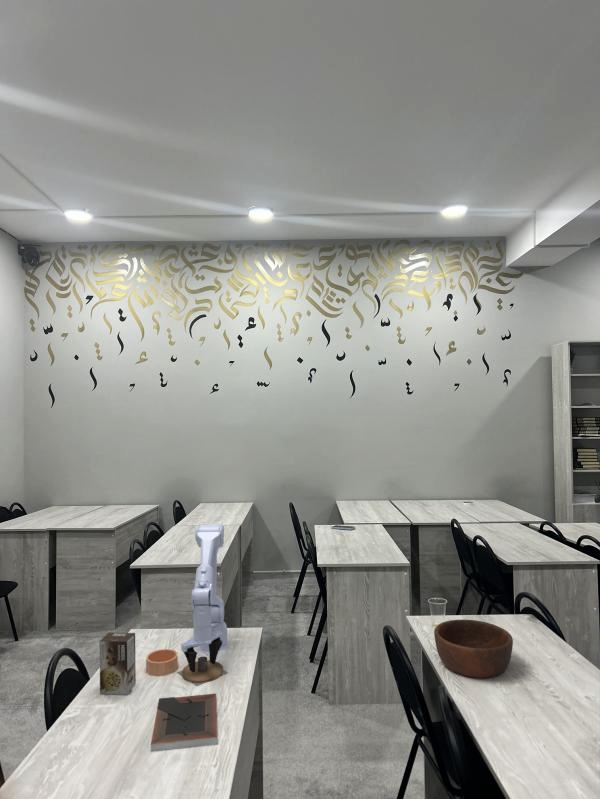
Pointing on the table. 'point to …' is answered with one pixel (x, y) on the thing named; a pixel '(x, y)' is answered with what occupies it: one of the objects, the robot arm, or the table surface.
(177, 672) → the mat
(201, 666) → the lid
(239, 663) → the table surface
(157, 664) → the bowl
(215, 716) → the picture frame
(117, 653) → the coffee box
